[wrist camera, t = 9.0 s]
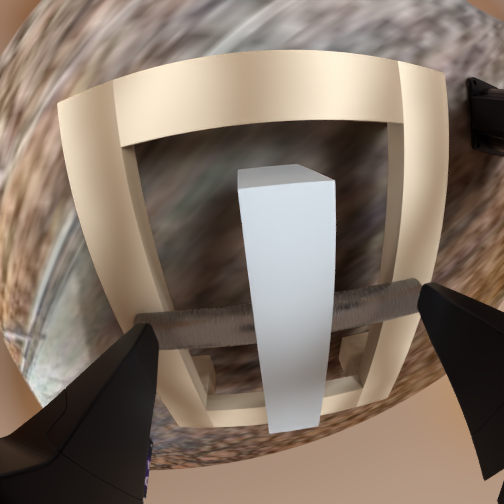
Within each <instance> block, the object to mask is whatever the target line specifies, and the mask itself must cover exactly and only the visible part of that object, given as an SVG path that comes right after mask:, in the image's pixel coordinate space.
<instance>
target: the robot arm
mask: <svg viewBox="0 0 504 504" xmlns="http://www.w3.org/2000/svg"><path fill="white" fill-rule="evenodd" d="M468 82H469V91H470V102H471V119H472V147H473V149H474V150H476V151H481V152H487V153H492V154H497V155H501V156H504V89H498V88H496V87H494V86H492V85H490V84H488V83H486V82H484V81H481V80H479V79H477V78H474V77H470V78H469V79H468ZM417 309H418V312H419V314H420V316H421V318H422V321H423V323H424V326H425V328H426V330H427V333H428V335H429V338H430V340H431V343H432V345H433V347H434V349H435V351H436V353H437V355H438V357H439V359H440V361H441V363H442V365H443V368H444V370H445V372H446V374H447V376H448V378H449V381H450V383H451V385H452V387H453V390H454V392H455V394H456V397H457V399H458V402H459V404H460V406H461V409H462V411H463V414H464V417H465V420H466V422H467V425H468V428H469V431H470V434H471V436H472V440H473V443H474V447H475V450H476V453H477V456H478V460H479V464H480V467H481V471H482V475H483V479H484V480H487V479H489V478H490V477H492V476H493V475H495V474H497V473H498V472H499V471H501V470H503V469H504V312H502V311H500V310H497V309H495V308H493V307H491V306H489V305H486V304H484V303H482V302H479V301H477V300H475V299H473V298H470V297H468V296H466V295H463V294H461V293H459V292H456V291H454V290H451V289H449V288H447V287H444V286H442V285H439V284H437V283H434V282H429V283H425V284H423V285H422V287H421V291H420V294H419V298H418V302H417ZM158 358H159V342H158V339H157V337H156V335H155V332H154V330H153V328H152V326H151V324H150V323H148V322H144V323H137V324H136V325H134V326H133V327H132V328H131V329H130V330H129V331H128V332H127V333H125V334H124V335H123V336H122V337H121V338H120V339H119V340H118V341H117V342H115V343H114V344H113V345H112V346H111V347H110V348H109V349H108V350H107V351H105V352H104V353H103V354H102V355H101V356H100V357H99V358H98V359H97V360H96V361H94V362H93V363H92V364H91V365H90V366H89V367H88V368H87V369H86V370H85V371H83V372H82V373H81V374H80V375H79V376H78V377H77V378H76V379H75V380H74V381H73V382H72V383H70V384H69V385H68V386H67V387H66V389H64V390H63V391H62V392H61V393H60V394H59V395H58V396H57V397H55V398H54V399H53V400H52V401H51V402H50V403H49V404H48V405H47V406H45V407H44V408H43V409H42V410H40V411H39V412H38V413H37V414H36V415H34V416H33V417H32V418H31V419H29V420H28V421H27V422H25V423H24V424H23V425H22V426H20V427H19V428H18V429H17V430H15V431H14V432H13V433H11V434H10V435H8V436H5V437H3V438H0V504H143V498H144V484H145V473H146V463H147V454H148V445H149V437H150V429H151V422H152V415H153V409H154V402H155V396H156V389H157V374H158ZM497 501H498V504H504V482H503V485H502V488H501V491H500V494H499V497H498V500H497Z"/></svg>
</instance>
